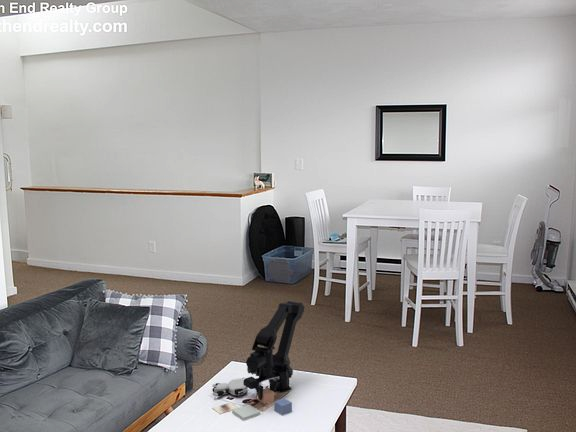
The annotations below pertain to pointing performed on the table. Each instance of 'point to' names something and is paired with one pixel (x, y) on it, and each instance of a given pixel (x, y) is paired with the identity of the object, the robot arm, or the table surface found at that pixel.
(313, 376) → the table surface
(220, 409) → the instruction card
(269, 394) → the terracotta brick
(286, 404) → the navy brick
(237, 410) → the grey baseplate
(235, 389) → the robot toy
